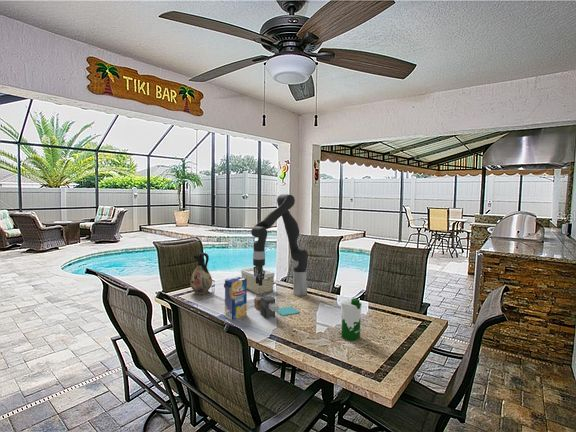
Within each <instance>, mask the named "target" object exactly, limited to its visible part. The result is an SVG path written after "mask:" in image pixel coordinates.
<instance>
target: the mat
mask: <svg viewBox="0 0 576 432" xmlns="http://www.w3.org/2000/svg"><path fill="white" fill-rule="evenodd" d="M275 313H278V314H279V315H280V316H281V317H286V316H289V315H296V314H300V313H301V312H300V311H299V310H297V308H295V307H293V306H292V305H289V306H282V307H279V310H278V311H275Z"/></svg>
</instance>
